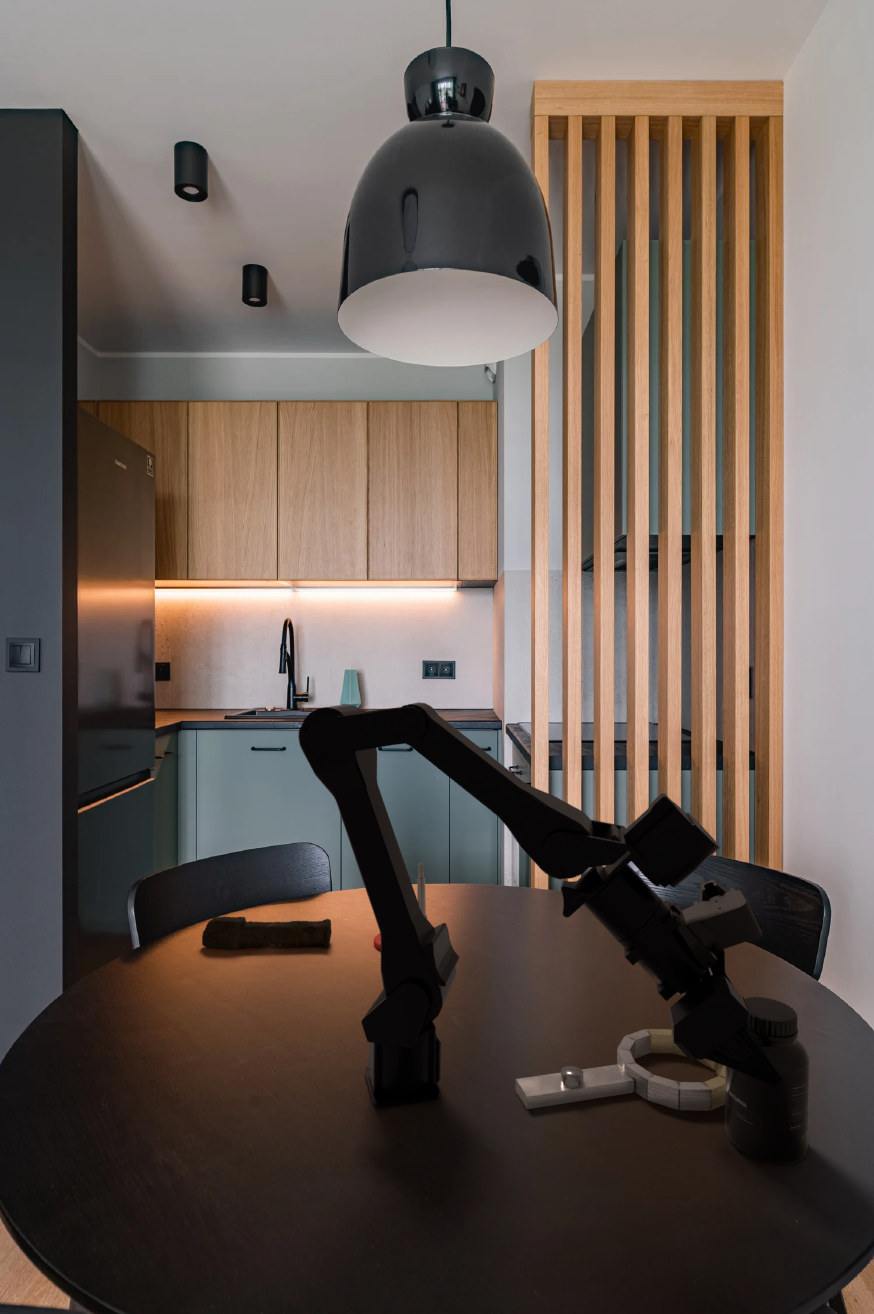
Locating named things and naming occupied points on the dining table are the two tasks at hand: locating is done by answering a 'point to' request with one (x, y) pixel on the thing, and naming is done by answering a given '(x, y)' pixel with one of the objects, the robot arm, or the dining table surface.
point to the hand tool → (264, 933)
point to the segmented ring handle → (614, 1082)
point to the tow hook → (420, 900)
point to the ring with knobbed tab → (665, 1044)
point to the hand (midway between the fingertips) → (765, 1053)
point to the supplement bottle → (771, 1090)
